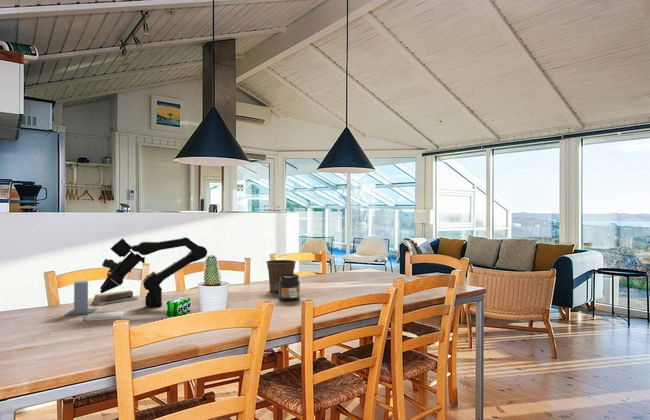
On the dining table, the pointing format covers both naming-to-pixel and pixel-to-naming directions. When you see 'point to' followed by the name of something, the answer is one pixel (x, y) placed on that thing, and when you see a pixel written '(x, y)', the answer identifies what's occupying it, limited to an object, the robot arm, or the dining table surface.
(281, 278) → the supplement container
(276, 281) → the plant pot
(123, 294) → the packaged product
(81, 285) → the stub
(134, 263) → the robot arm
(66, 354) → the dining table surface
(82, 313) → the coaster
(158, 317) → the dining table surface
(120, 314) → the strip
